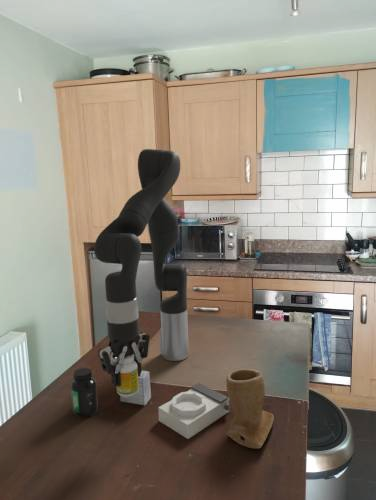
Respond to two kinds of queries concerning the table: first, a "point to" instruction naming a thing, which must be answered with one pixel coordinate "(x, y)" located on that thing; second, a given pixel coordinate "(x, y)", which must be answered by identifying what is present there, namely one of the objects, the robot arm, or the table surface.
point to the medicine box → (140, 390)
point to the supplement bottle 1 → (84, 393)
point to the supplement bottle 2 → (128, 377)
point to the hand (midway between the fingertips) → (127, 380)
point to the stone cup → (248, 408)
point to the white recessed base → (193, 410)
